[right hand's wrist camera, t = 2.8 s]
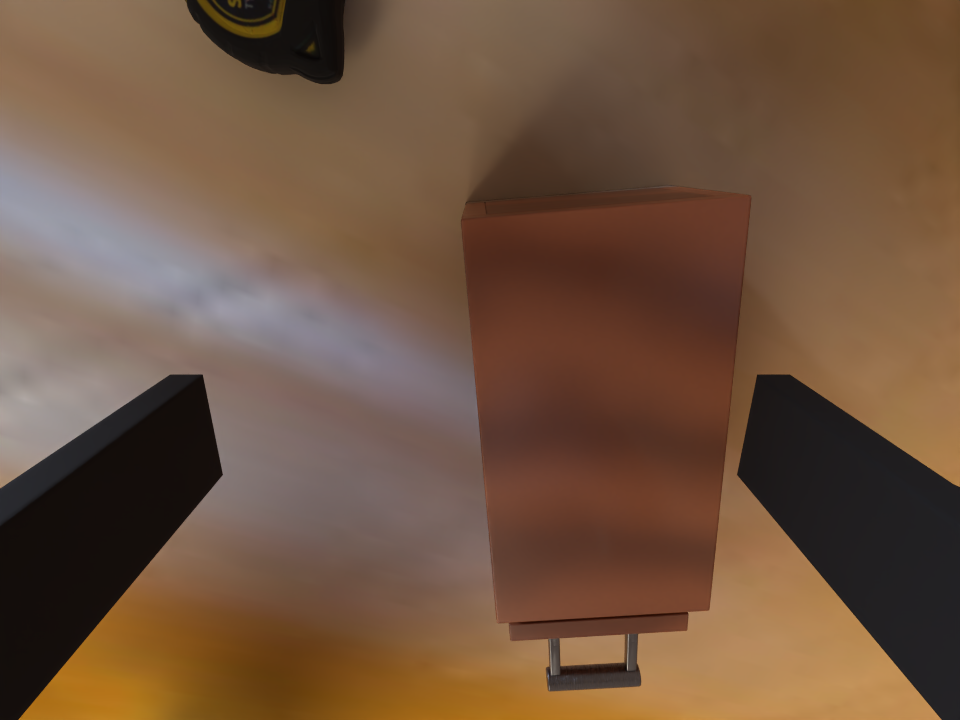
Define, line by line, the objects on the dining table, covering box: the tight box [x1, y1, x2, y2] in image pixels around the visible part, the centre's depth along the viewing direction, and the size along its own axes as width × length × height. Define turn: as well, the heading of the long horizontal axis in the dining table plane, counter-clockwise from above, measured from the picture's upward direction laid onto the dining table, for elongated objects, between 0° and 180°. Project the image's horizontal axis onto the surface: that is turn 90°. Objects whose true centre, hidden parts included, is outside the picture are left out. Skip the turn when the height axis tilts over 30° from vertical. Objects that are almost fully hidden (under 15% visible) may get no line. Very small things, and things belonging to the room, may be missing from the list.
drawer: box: [509, 612, 688, 691], centre depth 29 cm, size 24×10×7 cm, turn 5°
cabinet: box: [461, 185, 751, 623], centre depth 27 cm, size 20×11×9 cm, turn 5°
